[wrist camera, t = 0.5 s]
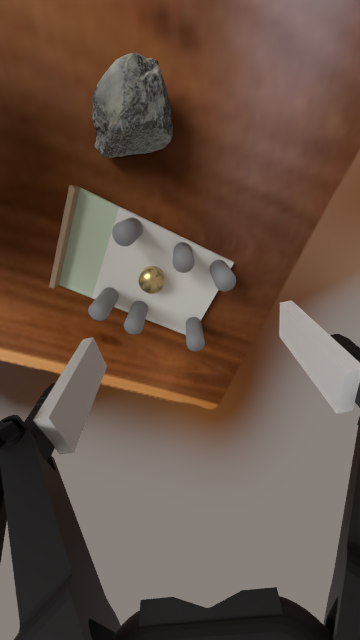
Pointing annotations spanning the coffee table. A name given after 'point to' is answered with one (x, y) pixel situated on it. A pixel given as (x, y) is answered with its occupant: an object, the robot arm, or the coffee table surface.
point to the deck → (136, 267)
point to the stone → (131, 108)
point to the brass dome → (151, 279)
